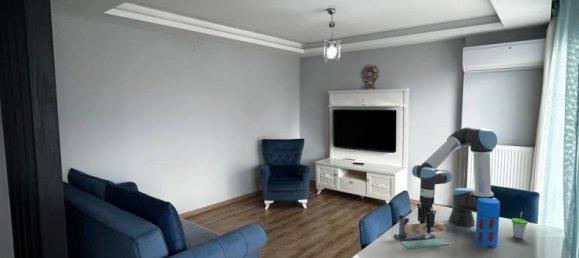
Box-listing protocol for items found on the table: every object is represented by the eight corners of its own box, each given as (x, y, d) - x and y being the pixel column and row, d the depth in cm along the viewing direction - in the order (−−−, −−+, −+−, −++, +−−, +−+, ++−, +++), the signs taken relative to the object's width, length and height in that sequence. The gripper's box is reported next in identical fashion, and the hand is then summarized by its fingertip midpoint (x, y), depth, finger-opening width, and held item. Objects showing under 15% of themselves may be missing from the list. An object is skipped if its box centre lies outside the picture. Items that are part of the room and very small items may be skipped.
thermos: (500, 248, 175) (503, 204, 173) (479, 246, 177) (482, 202, 175) (492, 240, 186) (495, 198, 184) (472, 238, 188) (474, 197, 186)
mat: (440, 239, 186) (440, 238, 186) (448, 244, 180) (449, 243, 179) (400, 243, 180) (400, 242, 180) (407, 248, 174) (407, 247, 174)
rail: (441, 228, 184) (441, 221, 183) (445, 231, 180) (446, 224, 180) (404, 231, 178) (404, 224, 178) (407, 234, 175) (408, 227, 175)
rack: (427, 233, 195) (428, 212, 194) (435, 237, 188) (436, 216, 187) (393, 236, 190) (394, 215, 189) (400, 241, 183) (401, 219, 182)
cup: (518, 240, 186) (519, 215, 185) (507, 234, 194) (508, 210, 192) (529, 239, 187) (531, 214, 186) (518, 234, 195) (519, 210, 194)
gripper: (412, 191, 185) (410, 231, 187) (430, 200, 169) (428, 243, 171) (423, 191, 187) (421, 230, 188) (443, 199, 170) (440, 242, 172)
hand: (424, 236), depth 180 cm, fingers closed on rail, 3 cm apart
